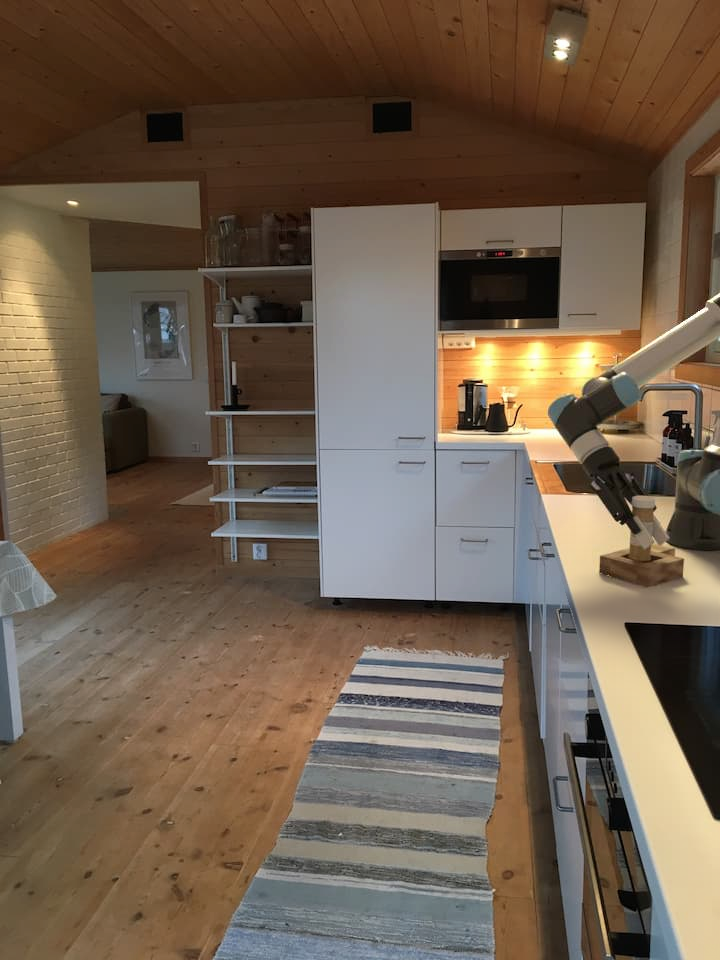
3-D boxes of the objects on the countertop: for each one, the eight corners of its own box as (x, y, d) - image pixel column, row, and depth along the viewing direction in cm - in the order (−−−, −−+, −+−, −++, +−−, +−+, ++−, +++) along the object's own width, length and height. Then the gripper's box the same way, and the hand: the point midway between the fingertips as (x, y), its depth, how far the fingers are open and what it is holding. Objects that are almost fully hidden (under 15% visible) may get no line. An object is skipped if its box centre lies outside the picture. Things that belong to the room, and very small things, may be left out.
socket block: (634, 563, 171) (635, 546, 170) (682, 576, 161) (684, 558, 160) (599, 573, 164) (600, 555, 163) (647, 587, 154) (648, 568, 154)
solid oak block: (650, 559, 174) (651, 542, 174) (674, 565, 169) (675, 547, 169) (634, 563, 171) (635, 546, 170) (657, 570, 166) (658, 552, 165)
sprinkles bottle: (624, 556, 164) (628, 495, 162) (645, 555, 165) (648, 494, 162) (634, 562, 160) (638, 499, 157) (655, 561, 160) (659, 499, 158)
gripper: (610, 462, 176) (669, 546, 166) (559, 469, 166) (619, 560, 156) (631, 441, 171) (694, 527, 160) (579, 448, 161) (643, 540, 151)
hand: (657, 543), depth 158 cm, fingers closed on sprinkles bottle, 4 cm apart
